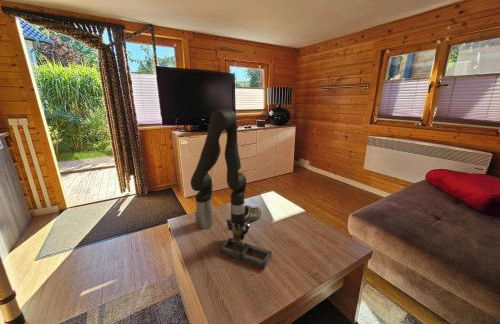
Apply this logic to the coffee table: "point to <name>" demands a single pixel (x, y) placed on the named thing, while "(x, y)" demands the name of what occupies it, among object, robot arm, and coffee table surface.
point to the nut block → (237, 234)
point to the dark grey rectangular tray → (246, 253)
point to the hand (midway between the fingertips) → (238, 238)
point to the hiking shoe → (252, 214)
